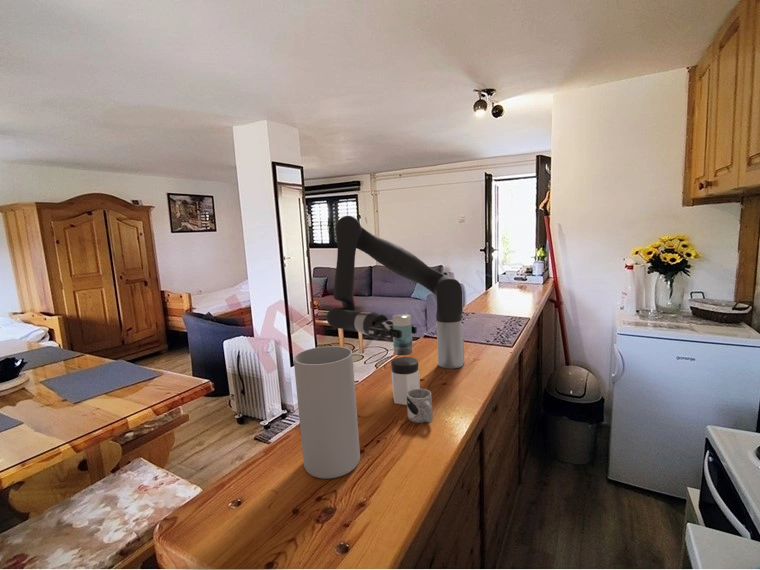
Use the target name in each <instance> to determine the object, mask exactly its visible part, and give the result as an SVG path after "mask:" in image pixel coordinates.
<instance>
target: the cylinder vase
mask: <svg viewBox="0 0 760 570" xmlns="http://www.w3.org/2000/svg"><path fill="white" fill-rule="evenodd" d="M293 366H294V367H293V368H294V378H295V379H294V380H295V386H296V387H295V388H296V397H297V398H296V399H297V407H298V408H297V409H298V417H299V419H298V420H299V431H300V439H301V440H300V441H301V449H302V451H301V452H302V460H303V466H304V469H305V471H306V472H307V473H308V474H309V475H310V476H312V477H315V478H319V479H325V480H326V479H329V480H330V479H336V478H340V477H343V476H345V475H347V474H349V473H351V472H352V471H353V470H354V469H355V468H356V467H357V466H358V465H359V462H360V459H361V451H360V439H359V438H360V437H359V436H360V435H359V423H358V412H357V400H356V385H355V372H354V371H355V370H354V359H353V351H352V350H351V349H350V348H349V347H345V346H339V345H338V346H337V345H331V346H330V345H328V346H319V347H313V348H309V349H306V350H303V351H300V352H297V354H295V355H294V357H293Z"/></svg>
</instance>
